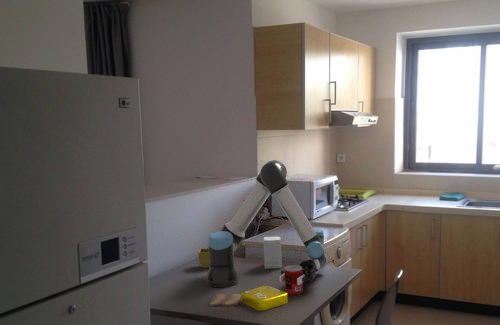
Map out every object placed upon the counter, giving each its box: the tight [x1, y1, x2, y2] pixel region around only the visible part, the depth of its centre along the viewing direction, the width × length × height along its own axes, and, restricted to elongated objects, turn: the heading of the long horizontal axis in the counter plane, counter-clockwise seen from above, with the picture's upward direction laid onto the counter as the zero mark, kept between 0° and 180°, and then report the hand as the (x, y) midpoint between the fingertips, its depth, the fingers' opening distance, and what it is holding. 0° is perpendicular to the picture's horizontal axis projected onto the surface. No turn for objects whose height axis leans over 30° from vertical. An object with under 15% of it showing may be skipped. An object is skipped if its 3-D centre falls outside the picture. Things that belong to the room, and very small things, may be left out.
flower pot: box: [197, 247, 210, 269], centre depth 257 cm, size 9×9×9 cm
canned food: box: [284, 264, 304, 296], centre depth 210 cm, size 8×8×11 cm
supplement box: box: [263, 236, 283, 270], centre depth 253 cm, size 9×9×15 cm
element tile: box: [240, 285, 289, 312], centre depth 200 cm, size 15×15×5 cm
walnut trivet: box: [208, 293, 241, 307], centre depth 203 cm, size 12×12×1 cm
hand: (289, 280), depth 206 cm, fingers closed on canned food, 8 cm apart
